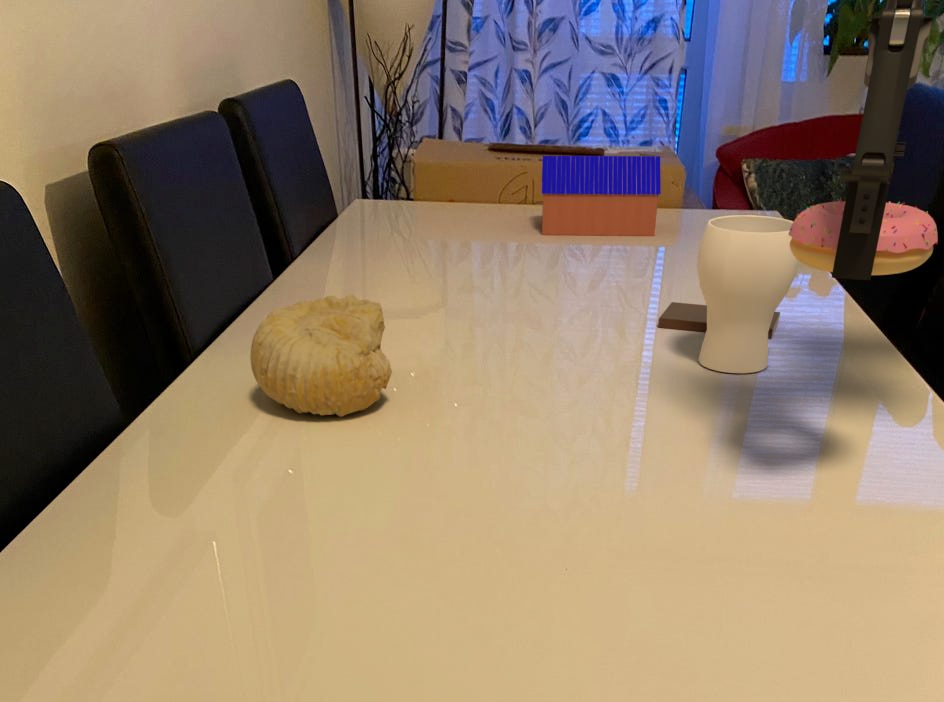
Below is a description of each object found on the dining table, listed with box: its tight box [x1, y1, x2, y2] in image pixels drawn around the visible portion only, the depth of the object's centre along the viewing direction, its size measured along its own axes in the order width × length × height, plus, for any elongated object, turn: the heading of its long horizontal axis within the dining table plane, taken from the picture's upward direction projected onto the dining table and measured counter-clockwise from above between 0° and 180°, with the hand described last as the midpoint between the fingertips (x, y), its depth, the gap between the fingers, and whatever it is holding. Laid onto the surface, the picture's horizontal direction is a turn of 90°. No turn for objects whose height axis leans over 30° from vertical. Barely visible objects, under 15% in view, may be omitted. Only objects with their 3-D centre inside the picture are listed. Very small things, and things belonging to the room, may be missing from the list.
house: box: [541, 155, 662, 237], centre depth 172 cm, size 12×20×12 cm, turn 86°
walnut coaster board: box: [657, 301, 781, 340], centre depth 126 cm, size 14×8×1 cm, turn 69°
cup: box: [696, 214, 800, 374], centre depth 109 cm, size 11×11×15 cm
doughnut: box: [788, 199, 939, 276], centre depth 76 cm, size 11×11×4 cm
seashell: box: [249, 294, 393, 418], centre depth 102 cm, size 17×11×15 cm
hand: (855, 260), depth 77 cm, fingers closed on doughnut, 11 cm apart
